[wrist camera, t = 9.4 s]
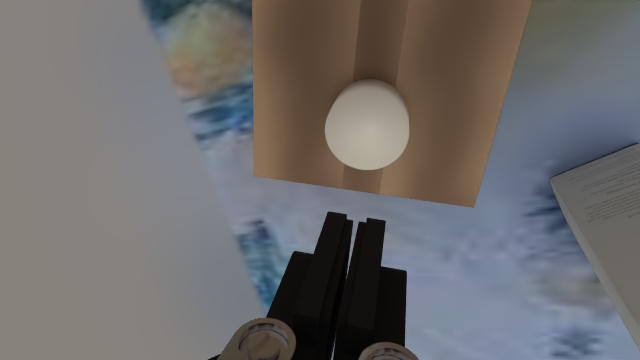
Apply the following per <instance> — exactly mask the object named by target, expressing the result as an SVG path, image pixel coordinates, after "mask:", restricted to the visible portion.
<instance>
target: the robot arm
mask: <svg viewBox="0 0 640 360" xmlns="http://www.w3.org/2000/svg"><path fill="white" fill-rule="evenodd" d="M385 224H386V221H384V220H378V219H372V218H367V221H366V223H365V222H359V224H358V228H357V233H356V238H355V242H354V247H353V252H352V256H351V261H350V266H349V270H348V275H347V269H348V261H349V252H350V244H351V236H352V228H353V220H347V214H341V213H335V212H328V213H327V216H326V219H325V222H324V225H323V228H322V231H321V233H320V236H319V239H318V242H317V245H316V248H315V251H314V254H309V253H304V252H298V251H294V252H293V254H292V256H291V258H290V261H289V263H288V266H287V268H286V271H285V273H284V275H283V278H282V280H281V283H280V285H279V288H278V290H277V292H276V295H275V297H274V300H273V302H272V305H271V307H270V309H269V312H268V314H267V317H266V318H258V319H255V320H251V321H249V322H247V323H246V324H244V325H242V326H241V327H240V328H239V329H238V330H237V331H236V332H235V334H234V335H233V337H232V338H231V340H230V341H229V343H228V344H227V346H226V347H225V348H224V350H223V351H222V353H221V354H219V355H217V356H215V357H212V358H211V359H208V360H331V357H332V352H333V347H334V342H335V349H334V357H333V360H419V359H418V358H417V357H416V355H415V354H413V353H412V352H411V351H410V350H408V349H407V348H405V318H406V284H407V272H406V271H405V270H399V269H393V268H388V267H382V266H381V259H382V250H383V241H384V232H385ZM346 277H347V280H346ZM335 338H336V340H335Z"/></svg>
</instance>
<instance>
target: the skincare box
mask: <svg viewBox="0 0 640 360" xmlns="http://www.w3.org/2000/svg"><path fill="white" fill-rule="evenodd" d="M550 183H551V186H552V189H553V191H554V194H555V196H556V199H557V201H558V203H559V205H560V208H561V210H562V212H563V214H564V216H565V219H566V221H567V223H568V225H569V227H570V228H571V230H572V232H573V234H574V236H575V238H576V240H577V242H578V243H579V245H580V247H581V249H582V250H583V252H584V254H585V256H586V257H587V259H588V261H589V262H590V264H591V266H592V268H593V269H594V271H595V273H596V275H597V276H598V278H599V280H600V282H601V283H602V285H603V287H604V288H605V290H606V292H607V294H608V296H609V297H610V299H611V301H612V303H613V305H614V306H615V308H616V310H617V312H618V314H619V315H620V317H621V319H622V321H623V323H624V324H625V326H626V328H627V330H628V331H629V333H630V335H631V337H632V338H633V340H634V342H635V344H636V345H637V347H638V349H639V351H640V144H636V145H633V146H630V147H627V148H625V149H622V150H620V151H617V152H615V153H612V154H610V155H607V156H605V157H602V158H600V159H597V160H595V161H592V162H590V163H587V164H585V165H582V166H580V167H577V168H574V169H572V170H569V171H567V172H564V173H562V174H559V175H557V176H555V177H552V178H551V179H550Z"/></svg>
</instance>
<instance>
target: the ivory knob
mask: <svg viewBox="0 0 640 360" xmlns="http://www.w3.org/2000/svg"><path fill="white" fill-rule="evenodd" d="M325 136H326V140H327V143H328V146H329V148H330V150H331V151H332V153H333V154H334V155H335V156H336V157H337V158H338V159H339V160H340V161H341V162H343V163H344V164H346V165H348V166H350V167H353V168H356V169H361V170H375V169H379V168H383V167H385V166H387V165H389V164H391V163H392V162H394V161H395V160H396V159H397V158H398V157H399V156H400V155H401V154H402V153H403V151H404V149H405V148H406V145H407V143H408V139H409V111H408V106H407V103H406V101H405V99H404V97H403V96H402V94H401V93H400V92H399V91H398V90H397V89H396V88H395V87H393V86H392V85H390V84H388V83H386V82H384V81H381V80H376V79H364V80H360V81H357V82H354V83H352V84H350V85H348V86H347V87H346V88H344V89H343V90H342V91H341V92H340V94H339V95H338V97H337V98H336V100H335V102H334V104H333V106H332V108H331V110H330V112H329V114H328V116H327V119H326V124H325Z"/></svg>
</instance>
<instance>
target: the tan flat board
mask: <svg viewBox="0 0 640 360" xmlns="http://www.w3.org/2000/svg"><path fill="white" fill-rule="evenodd" d="M531 3H532V0H252V38H253V118H254V176H257V177H264V178H271V179H278V180H285V181H292V182H299V183H306V184H313V185H320V186H327V187H334V188H341V189H348V190H355V191H362V192H369V193H376V194H383V195H390V196H396V197H403V198H410V199H417V200H424V201H431V202H438V203H445V204H452V205H459V206H466V207H473V208H474V206H475V203H476V199H477V195H478V192H479V188H480V185H481V181H482V178H483V174H484V171H485V167H486V163H487V160H488V156H489V153H490V149H491V146H492V142H493V139H494V135H495V131H496V128H497V124H498V121H499V117H500V114H501V110H502V107H503V103H504V99H505V96H506V92H507V89H508V85H509V82H510V78H511V75H512V71H513V67H514V64H515V60H516V57H517V53H518V50H519V46H520V43H521V39H522V35H523V32H524V28H525V25H526V21H527V18H528V14H529V11H530V7H531ZM364 79H376V80H381V81H384V82H386V83H388V84H390V85H392V86H393V87H395V88H396V89H397V90H398V91H399V92H400V93H401V94H402V96H403V97H404V99H405V101H406V103H407V106H408V111H409V139H408V143H407V145H406V148H405V149H404V151H403V153H402V154H401V155H400V156H399V157H398V158H397V159H396V160H395V161H394V162H392V163H391V164H389V165H387V166H385V167H383V168H379V169H375V170H361V169H356V168H353V167H350V166H348V165H346V164H344V163H343V162H341V161H340V160H339V159H338V158H337V157H336V156H335V155H334V154H333V153H332V151H331V150H330V148H329V146H328V143H327V140H326V136H325V124H326V119H327V116H328V114H329V112H330V110H331V108H332V106H333V104H334V102H335V100H336V98H337V97H338V95H339V94H340V92H341V91H342V90H343V89H344V88H346V87H347V86H348V85H350V84H352V83H354V82H357V81H360V80H364Z"/></svg>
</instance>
